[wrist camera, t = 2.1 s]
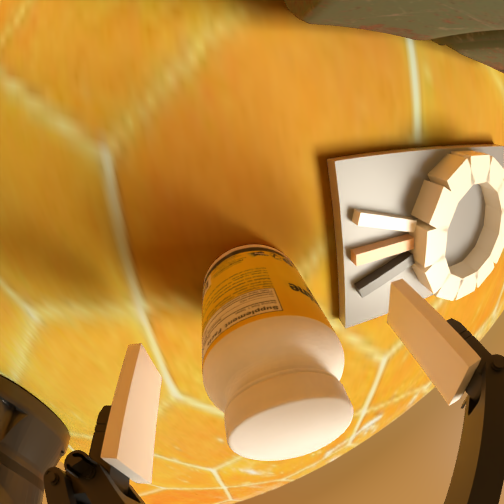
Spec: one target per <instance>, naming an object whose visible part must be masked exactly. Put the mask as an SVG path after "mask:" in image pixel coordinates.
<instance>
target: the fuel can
mask: <svg viewBox="0 0 504 504" xmlns="http://www.w3.org/2000/svg"><path fill="white" fill-rule="evenodd" d="M284 2H285V4H286V6H287V8H288V9H289V10H290V11H291V12H292V13H293V14H294V15H295V16H296V17H297V18H299V19H301V20H303V21H305V22H307V23H310V24H321V25H334V26H343V27H352V28H359V29H366V30H372V31H378V32H383V33H388V34H393V35H397V36H402V37H406V38H410V39H415V40H429V39H430V40H432V41H434V42H436V43H438V44H439V45H447V46H449V47H450V48H452V49H454V50H455V51H457V52H459V53H460V54H462V55H464V56H466V57H469V58H471V59H474V60H476V61H479V62H481V63H483V64H485V65H488V66H490V67H492V68H494V69H496V70H498V71H500V72H502V73H504V0H284Z"/></svg>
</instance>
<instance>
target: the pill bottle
mask: <svg viewBox="0 0 504 504" xmlns="http://www.w3.org/2000/svg"><path fill="white" fill-rule="evenodd" d="M343 368H344V352H343V348H342V345H341V343H340V341H339V338H338V337H337V335H336V333H335V331H334V330H333V328H332V326H331V325H330V323H329V321H328V320H327V318H326V317H325V315H324V313H323V312H322V310H321V308H320V307H319V305H318V303H317V301H316V300H315V298H314V297H313V295H312V293H311V292H310V290H309V288H308V287H307V285H306V284H305V282H304V280H303V279H302V277H301V275H300V274H299V272H298V271H297V269H296V267H295V266H294V265H293V263H292V262H291V260H290V259H289V258H288V257H287V256H286V255H284V254H283V253H282V252H280V251H278V250H277V249H274V248H272V247H269V246H265V245H259V244H251V245H244V246H239V247H236V248H233V249H231V250H229V251H227V252H225V253H224V254H222V255H221V256H220V257H219V258H218V259H216V260H215V261H214V263H213V264H212V265H211V266H210V268H209V270H208V272H207V274H206V276H205V279H204V284H203V298H202V374H203V382H204V386H205V390H206V392H207V394H208V396H209V398H210V399H211V401H212V402H213V403H214V404H215V406H216V407H218V408H219V409H220V410H221V411H223V412H224V414H225V416H224V418H225V429H226V437H227V442H228V445H229V447H230V448H231V449H232V450H233V451H234V452H235V453H237V454H238V455H240V456H243V457H246V458H249V459H254V460H263V461H274V460H284V459H290V458H295V457H299V456H302V455H305V454H308V453H311V452H313V451H316V450H318V449H320V448H322V447H324V446H326V445H327V444H329V443H331V442H332V441H334V440H335V439H336V438H338V437H339V436H340V435H341V434H342V433H343V432H344V431H345V430H346V429H347V427H348V426H349V425H350V423H351V421H352V418H353V406H352V404H351V402H350V400H349V398H348V396H347V393H346V391H345V389H344V387H343V385H342V384H341V382H340V381H339V380H340V378H341V376H342V372H343Z"/></svg>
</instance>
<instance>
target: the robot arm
mask: <svg viewBox="0 0 504 504" xmlns="http://www.w3.org/2000/svg"><path fill="white" fill-rule="evenodd" d="M387 323H388V324H389V325H390V327H391V328H392V329H393V330H394V332H395V333H396V334H397V336H398V337H399V338H400V339H401V341H402V342H403V343H404V345H405V346H406V347H407V349H408V350H409V351H410V353H411V354H412V355H413V357H414V358H415V359H416V361H417V362H418V363H419V365H420V366H421V367H422V369H423V370H424V371H425V373H426V374H427V376H428V377H429V378H430V380H431V381H432V383H433V384H434V385H435V387H436V388H437V390H438V391H439V393H440V394H441V395H442V397H443V398H444V400H445V401H446V403H447V404H448V405H451V404H452V403H454V402H456V401H457V400H459V399H460V398H461V397H462V395H463V393H464V391H466V392H467V393H468V396H467V397H466V399H465V401H464V402H463V404H462V407H461V408H464V406H465V404H466V408H465V416H464V424H463V429H462V435H461V441H460V446H459V451H458V456H457V460H456V464H455V468H454V472H453V476H452V479H451V483H450V487H449V490H448V493H447V496H446V499H445V502H444V504H498V503H499V499H500V495H501V490H502V486H503V481H504V357H503V356H501V355H498V354H496V355H491V354H490V353H489V352H488V351H487V350H486V349H485V348H484V347H483V346H482V344H481V343H480V342H479V341H478V340H477V339H476V338H475V337H474V336H472V334H471V333H470V332H469V331H467V329H466V328H465V327H464V326H463V325H462V324H461V323H460V322H458V321H456V320H454V319H452V318H451V319H449V320H447V321H446V320H445V319H444V318H443V317H442V316H441V315H440V314H439V313H438V312H437V311H436V310H435V309H434V308H433V307H432V306H431V305H430V304H429V303H428V302H427V301H426V300H425V299H424V298H422V297H421V296H420V295H419V294H418V293H417V292H416V291H415V290H414V289H413V288H412V287H411V286H410V285H409V284H408V283H407V282H406V281H404V280H403V279H400V280H397V281H394V282H391V287H390V299H389V309H388V319H387ZM161 381H162V377H161V376H160V374H159V372H158V371H157V369H156V367H155V366H154V364H153V362H152V361H151V359H150V357H149V356H148V354H147V352H146V350H145V349H144V347H143V345H142V343H139V344H132V345H128V349H127V352H126V355H125V359H124V362H123V365H122V369H121V372H120V376H119V380H118V383H117V387H116V391H115V394H114V398H113V402H112V405H111V406H104V407H103V408H102V410H101V411H100V413H99V415H98V419H97V425H96V427H95V432H94V435H93V439H92V443H91V448H90V452H89V456H88V455H87V454H86V453H85V452H83V451H80V450H75V451H73V452H71V453H69V454H68V455H67V457H66V459H65V462H64V467H65V470H66V472H64V471H62V470H61V469H59V468H57V467H55V466H56V465H57V463H58V462H59V460H60V458H61V457H62V456H63V455H64V454H65V453H66V451H67V448H68V444H69V440H70V434H69V432H68V430H67V428H66V426H65V425H64V424H63V423H62V421H61V420H60V419H59V418H58V417H57V416H56V415H55V414H54V413H53V412H52V411H51V410H49V409H48V408H47V407H46V406H45V405H44V404H42V403H41V402H40V401H39V400H37V399H36V398H35V397H33V396H32V395H31V394H29V393H28V392H26V391H25V390H23V389H22V388H20V387H19V386H17V385H16V384H14V383H12V382H11V381H9V380H7V379H5V378H3V377H1V376H0V504H42V499H43V493H44V487H45V493H46V498H47V502H48V504H145V503H144V501H143V500H142V499H141V498H140V496H139V495H138V494H137V493H136V491H135V490H134V489H133V487H132V486H131V485H129V479H131V480H133V481H134V482H136V483H148V484H152V468H153V454H154V442H155V432H156V422H157V413H158V404H159V396H160V388H161Z"/></svg>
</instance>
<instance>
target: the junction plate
mask: <svg viewBox="0 0 504 504" xmlns="http://www.w3.org/2000/svg"><path fill="white" fill-rule="evenodd" d="M327 166H328V174H329V181H330V190H331V198H332V208H333V218H334V228H335V240H336V254H337V270H338V291H339V319H340V321H341V322H342V324H343V325H344V327H345V328H348V327H351V326H354V325H357V324H360V323H362V322H365V321H368V320H371V319H374V318H376V317H379V316H382V315H384V314H387V313H388V309H389V299H390V287H391V282H394V281H397V280H400V279H403V280H404V281H406V282H407V283H408V284H409V285H410V286H411V287H412V288H413V289H414V290H415V291H416V292H417V293H418V294H419V295H420V296H421V297H422V298H427V297H429V296H431V295H435V296H436V297H440V298H443V299H447V300H451V301H453V300H454V299H455V300H458V299H460V298H462V297H463V296H465V295H467V294H469V293H471V292H473V291H475V286H476V287H477V288H478V287H479V286H480V285H481V283H482V282H483V281H484V280H485V279H486V277H487V276H488V275H489V274H490V272H491V271H492V270H493V269H494V264H493V263H494V262H495V263H496V264H497V262H498V259H499V257H500V255H501V252H502V250H503V248H504V146H500V145H496V144H472V145H449V146H433V147H420V148H408V149H398V150H388V151H380V152H371V153H364V154H356V155H349V156H342V157H335V158H329V159H327Z"/></svg>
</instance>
